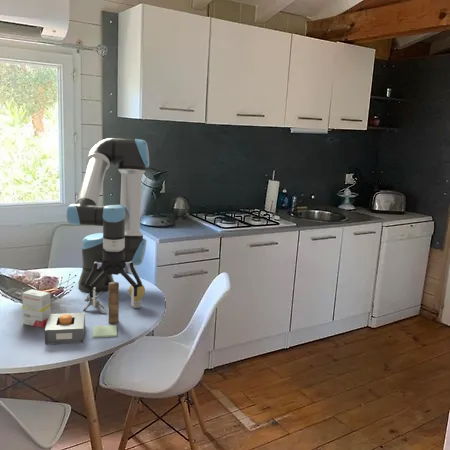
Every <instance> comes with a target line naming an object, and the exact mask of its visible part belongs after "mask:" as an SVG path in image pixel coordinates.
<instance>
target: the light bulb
mask: <svg viewBox="0 0 450 450" xmlns="http://www.w3.org/2000/svg"><path fill="white" fill-rule="evenodd" d="M131 291H132V285H131V284H130V285H129V287H128V295H129V296H130V297H131ZM145 293H146V289H145V286H144V284H142V286H141V287H138V288H137V296H134V306H132V305H131V307H132V308H134V309H139V308H141V307H142V298H143V297H144V295H145Z"/></svg>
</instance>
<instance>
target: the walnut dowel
mask: <svg viewBox="0 0 450 450" xmlns="http://www.w3.org/2000/svg"><path fill="white" fill-rule="evenodd" d="M119 284H120V283H119V281H118V282H117V281H114V282H110V283H109V291H108V324H110V325H117V324H118V323H119V322H120V321H119V319H120V318H119V317H120V316H119V313H120V311H119V308H120V306H119V305H120V304H119V303H120V302H119V301H120V299H119V298H120V297H119V296H120V294H119V293H120V289H119V288H120V285H119Z"/></svg>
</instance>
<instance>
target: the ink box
mask: <svg viewBox="0 0 450 450" xmlns="http://www.w3.org/2000/svg"><path fill="white" fill-rule="evenodd" d="M21 296H22V298H21V299H22V301H21V302H22V318H23V319H22V320H23V325H26V326H32V327H37V328H41V329H42V328H44V329H45V328H46V324H47V321H48V317H49V314H52V312H51V311H52V309H51V307H52V305H51V293H50V292H46V291H42V290H37V289H32V288H31V289H29V290H26V291H24V292H22V293H21Z"/></svg>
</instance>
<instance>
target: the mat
mask: <svg viewBox="0 0 450 450" xmlns="http://www.w3.org/2000/svg"><path fill="white" fill-rule="evenodd" d="M117 327H118V326H117V324H110V325H109V324H108V325H107V324H106V325H93V329H92V338H95V339H97V338H115V337H118V334H117V333H118V332H117V330H118V328H117Z"/></svg>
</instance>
